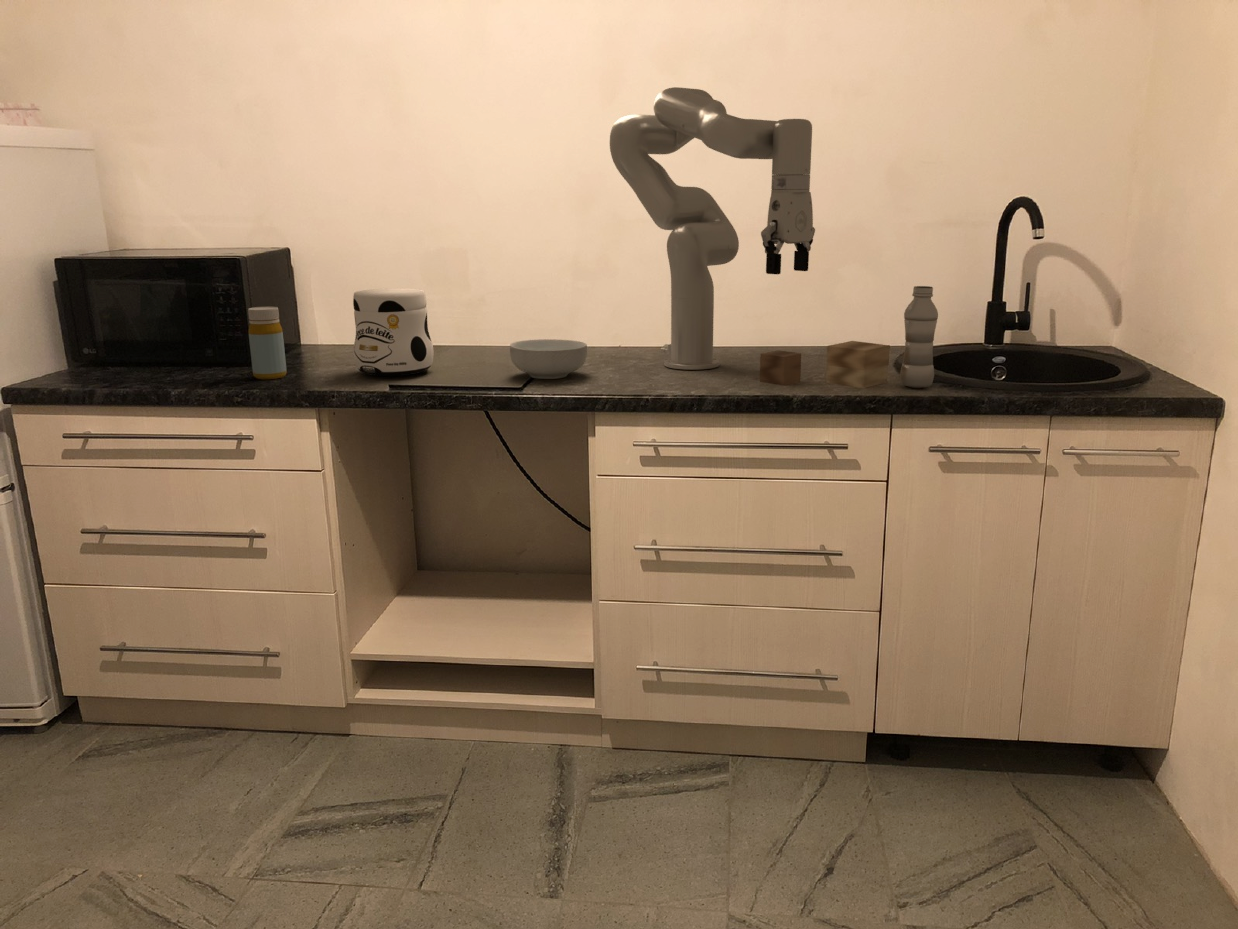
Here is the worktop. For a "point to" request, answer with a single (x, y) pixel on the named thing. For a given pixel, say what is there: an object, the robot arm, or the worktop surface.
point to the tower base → (856, 376)
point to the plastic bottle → (919, 339)
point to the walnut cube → (780, 367)
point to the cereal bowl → (548, 357)
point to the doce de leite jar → (391, 332)
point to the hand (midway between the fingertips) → (787, 272)
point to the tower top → (858, 355)
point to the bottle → (266, 343)
